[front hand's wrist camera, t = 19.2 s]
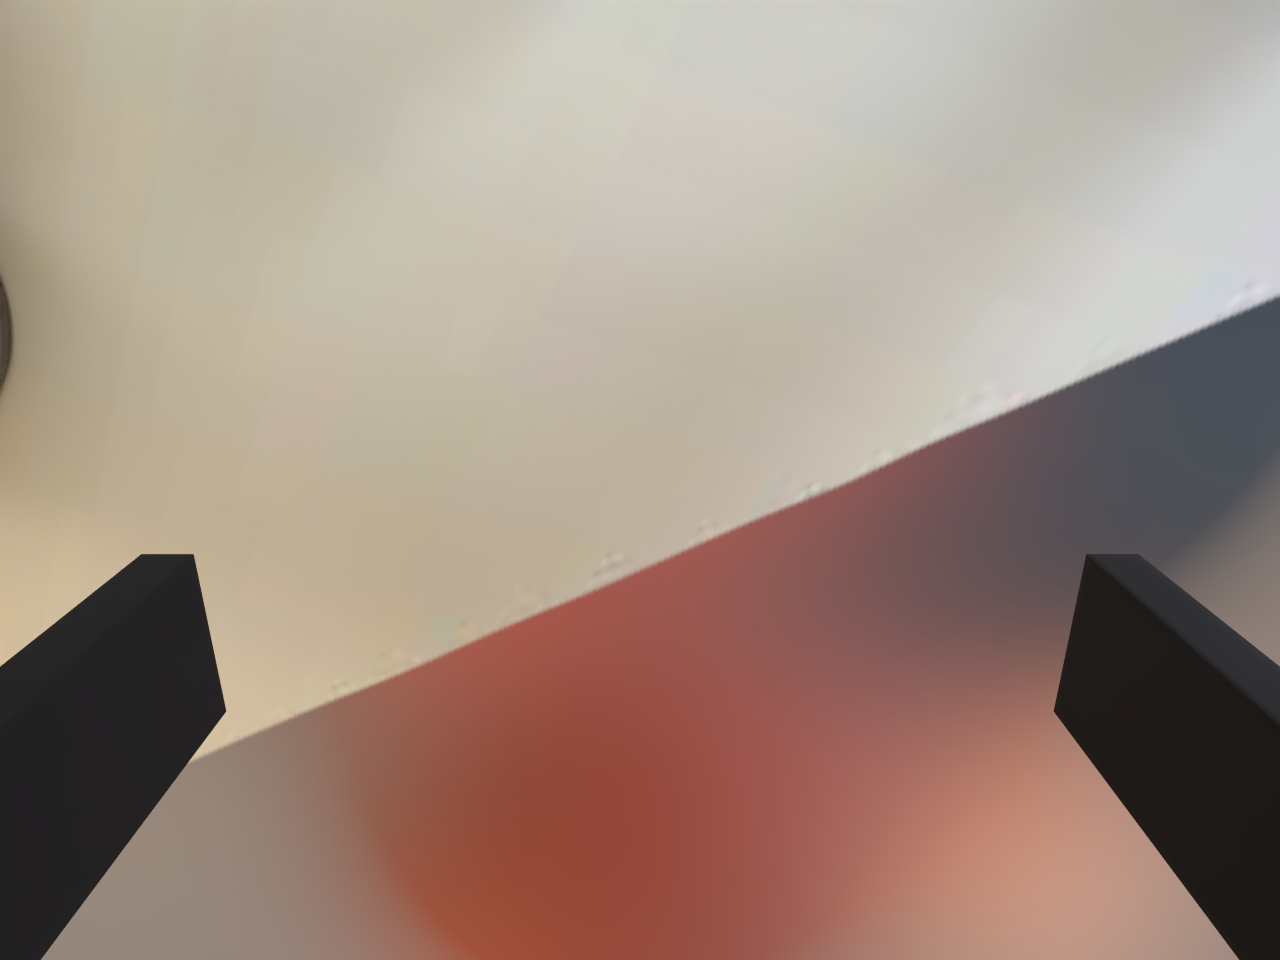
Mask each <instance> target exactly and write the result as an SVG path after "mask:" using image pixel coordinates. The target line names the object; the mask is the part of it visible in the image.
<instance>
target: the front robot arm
mask: <svg viewBox="0 0 1280 960" xmlns="http://www.w3.org/2000/svg"><path fill="white" fill-rule="evenodd" d="M9 341H10V332H9V320H8V313H7V308H6V302H5V299H4V295H3V292H2V288H1V285H0V385H1V383H2V380H3V378H4V374H5V370H6V366H7V362H8V355H9ZM225 712H226V708H225V703H224V698H223V693H222V689H221V684H220V679H219V674H218V669H217V665H216V660H215V655H214V650H213V645H212V641H211V636H210V631H209V626H208V621H207V616H206V612H205V607H204V602H203V597H202V592H201V588H200V583H199V578H198V573H197V568H196V564H195V559H194V554H141V555H140V556H139V557H137V558H136V559H135V560H134V561H132V562H131V563H130V564H129V565H127V566H126V567H125V568H124V569H122V570H121V571H120V572H119V573H117V574H116V575H115V576H114V577H112V578H111V579H110V580H109V581H107V582H106V583H105V584H104V585H102V586H101V587H100V588H98V589H97V590H96V591H95V592H93V593H92V594H91V595H90V596H88V597H87V598H86V599H85V600H83V601H82V602H81V603H80V604H78V605H77V606H76V607H75V608H73V609H72V610H71V611H70V612H68V613H67V614H66V615H65V616H63V617H62V618H61V619H60V620H58V621H57V622H56V623H55V624H53V625H52V626H51V627H50V628H48V629H47V630H46V631H44V632H43V633H42V634H41V635H39V636H38V637H37V638H36V639H34V640H33V641H32V642H31V643H29V644H28V645H27V646H26V647H24V648H23V649H22V650H21V651H19V652H18V653H17V654H16V655H14V656H13V657H12V658H11V659H9V660H8V661H7V662H6V663H4V664H3V665H2V666H1V667H0V960H41V958H42V957H43V956H44V955H45V953H46V952H47V951H48V949H49V948H50V947H51V945H52V944H53V943H54V941H55V940H56V939H57V937H58V936H59V934H60V933H61V932H62V930H63V929H64V928H65V926H66V925H67V924H68V922H69V921H70V920H71V918H72V917H73V916H74V914H75V913H76V912H77V910H78V909H79V908H80V906H81V905H82V904H83V902H84V901H85V900H86V898H87V897H88V896H89V894H90V893H91V892H92V890H93V889H94V888H95V886H96V885H97V884H98V882H99V881H100V880H101V878H102V877H103V876H104V874H105V873H106V872H107V870H108V869H109V868H110V866H111V865H112V863H113V862H114V861H115V860H116V858H117V857H118V855H119V854H120V853H121V851H122V850H123V849H124V847H125V846H126V845H127V843H128V842H129V841H130V839H131V838H132V837H133V835H134V834H135V833H136V831H137V830H138V829H139V827H140V826H141V825H142V823H143V822H144V821H145V819H146V818H147V817H148V815H149V814H150V813H151V811H152V810H153V809H154V807H155V806H156V805H157V803H158V802H159V801H160V799H161V798H162V797H163V795H164V794H165V793H166V791H167V790H168V789H169V787H170V786H171V785H172V783H173V782H174V781H175V779H176V778H177V777H178V775H179V774H180V772H181V771H182V770H183V768H184V767H185V766H186V764H187V763H188V762H189V760H190V759H191V758H192V756H193V755H194V754H195V752H196V751H197V750H198V748H199V747H200V746H201V744H202V743H203V742H204V740H205V739H206V738H207V736H208V735H209V734H210V732H211V731H212V730H213V728H214V727H215V726H216V724H217V723H218V722H219V720H220V719H221V718H222V716H223V715H224V714H225ZM1054 712H1055V713H1056V715H1057V716H1058V718H1059V719H1060V720H1061V722H1062V723H1063V724H1064V726H1065V727H1066V728H1067V730H1068V731H1069V732H1070V734H1071V735H1072V736H1073V738H1074V739H1075V740H1076V742H1077V743H1078V744H1079V746H1080V747H1081V748H1082V750H1083V751H1084V752H1085V754H1086V755H1087V756H1088V758H1089V759H1090V760H1091V762H1092V763H1093V764H1094V766H1095V767H1096V768H1097V770H1098V771H1099V772H1100V774H1101V775H1102V776H1103V778H1104V779H1105V781H1106V782H1107V783H1108V784H1109V786H1110V787H1111V789H1112V790H1113V791H1114V793H1115V794H1116V795H1117V797H1118V798H1119V799H1120V801H1121V802H1122V803H1123V805H1124V806H1125V807H1126V809H1127V810H1128V811H1129V813H1130V814H1131V815H1132V817H1133V818H1134V819H1135V821H1136V822H1137V823H1138V825H1139V826H1140V827H1141V829H1142V830H1143V831H1144V833H1145V834H1146V835H1147V837H1148V838H1149V839H1150V841H1151V842H1152V843H1153V845H1154V846H1155V847H1156V849H1157V850H1158V851H1159V853H1160V854H1161V856H1162V857H1163V858H1164V860H1165V861H1166V862H1167V864H1168V865H1169V866H1170V868H1171V869H1172V870H1173V872H1174V873H1175V874H1176V876H1177V877H1178V878H1179V880H1180V881H1181V882H1182V884H1183V885H1184V886H1185V888H1186V889H1187V890H1188V892H1189V893H1190V894H1191V896H1192V897H1193V898H1194V900H1195V901H1196V902H1197V904H1198V905H1199V906H1200V908H1201V909H1202V910H1203V912H1204V913H1205V914H1206V916H1207V917H1208V918H1209V920H1210V921H1211V922H1212V924H1213V925H1214V926H1215V928H1216V929H1217V930H1218V932H1219V933H1220V934H1221V936H1222V937H1223V939H1224V940H1225V941H1226V943H1227V944H1228V945H1229V947H1230V948H1231V949H1232V951H1233V952H1234V953H1235V955H1236V956H1237V957H1238V959H1239V960H1280V667H1279V666H1278V665H1277V664H1276V663H1274V662H1273V661H1272V660H1271V659H1269V658H1268V657H1267V656H1266V655H1264V654H1263V653H1262V652H1261V651H1259V650H1258V649H1257V648H1256V647H1254V646H1253V645H1252V644H1251V643H1249V642H1248V641H1247V640H1246V639H1244V638H1243V637H1242V636H1241V635H1239V634H1238V633H1237V632H1235V631H1234V630H1233V629H1232V628H1230V627H1229V626H1228V625H1227V624H1225V623H1224V622H1223V621H1222V620H1220V619H1219V618H1218V617H1217V616H1215V615H1214V614H1213V613H1212V612H1210V611H1209V610H1208V609H1207V608H1205V607H1204V606H1203V605H1202V604H1200V603H1199V602H1198V601H1197V600H1195V599H1194V598H1193V597H1191V596H1190V595H1189V594H1188V593H1187V592H1185V591H1184V590H1183V589H1181V588H1180V587H1179V586H1178V585H1176V584H1175V583H1174V582H1173V581H1171V580H1170V579H1169V578H1168V577H1166V576H1165V575H1164V574H1163V573H1161V572H1160V571H1159V570H1158V569H1156V568H1155V567H1154V566H1153V565H1151V564H1150V563H1149V562H1148V561H1146V560H1145V559H1144V558H1143V557H1141V556H1140V555H1139V554H1087V555H1086V559H1085V564H1084V568H1083V573H1082V578H1081V583H1080V588H1079V593H1078V597H1077V602H1076V607H1075V612H1074V617H1073V621H1072V626H1071V631H1070V636H1069V641H1068V645H1067V650H1066V655H1065V660H1064V665H1063V669H1062V674H1061V679H1060V684H1059V689H1058V693H1057V698H1056V703H1055V708H1054Z"/></svg>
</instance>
